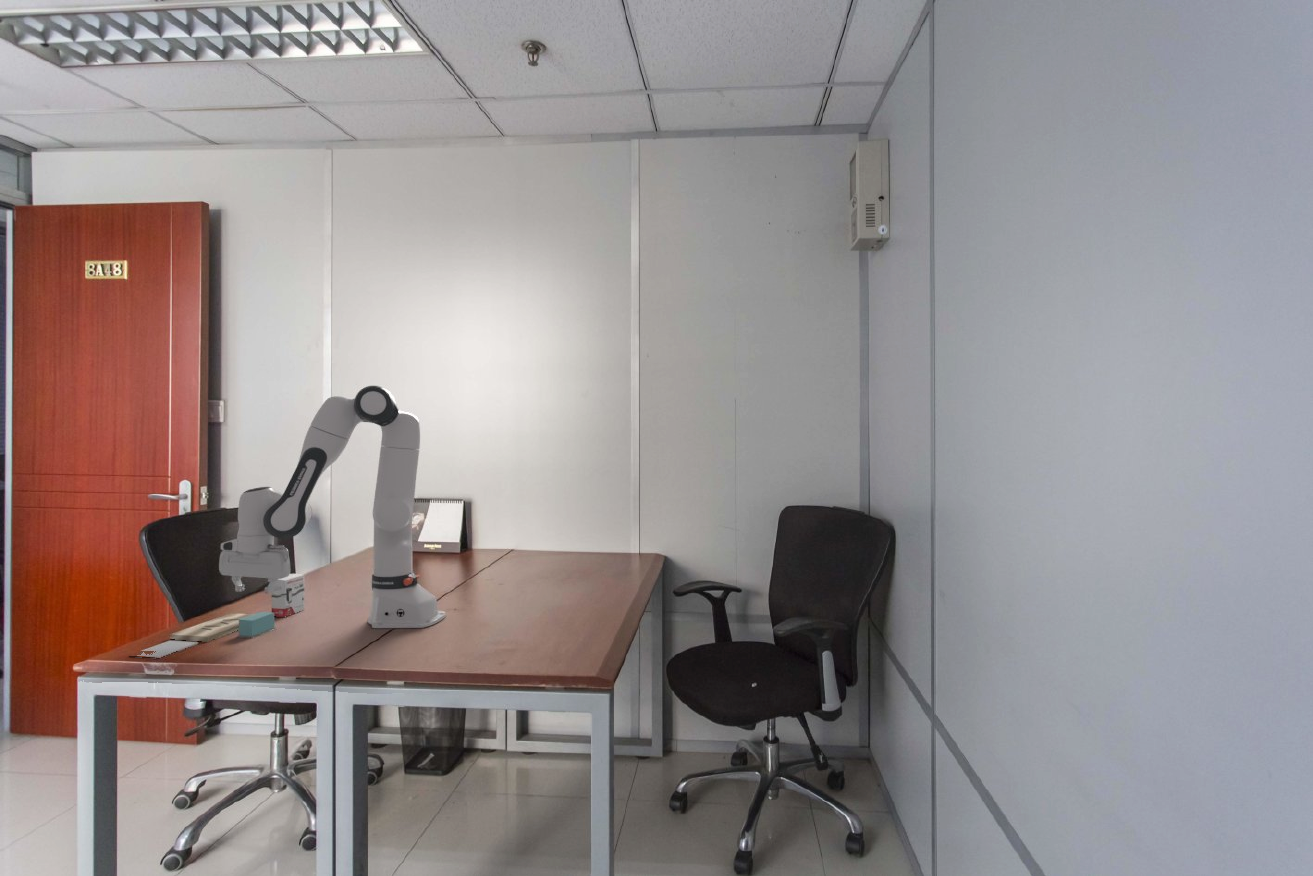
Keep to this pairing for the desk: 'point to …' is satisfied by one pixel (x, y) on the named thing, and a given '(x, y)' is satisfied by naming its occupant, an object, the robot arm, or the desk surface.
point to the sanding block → (256, 624)
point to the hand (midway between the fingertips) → (254, 592)
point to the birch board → (211, 628)
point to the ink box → (288, 595)
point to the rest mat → (167, 648)
